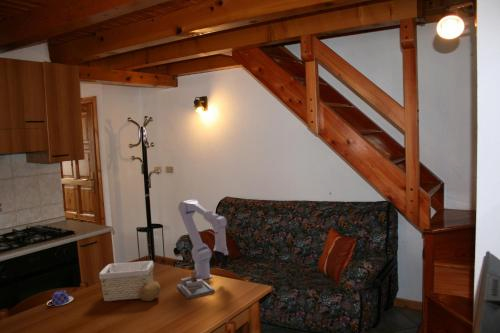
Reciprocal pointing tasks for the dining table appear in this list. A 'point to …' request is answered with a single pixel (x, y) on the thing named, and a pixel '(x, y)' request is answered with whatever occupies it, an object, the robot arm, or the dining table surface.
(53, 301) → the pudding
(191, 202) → the robot arm
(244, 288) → the dining table surface
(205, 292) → the base
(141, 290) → the potato
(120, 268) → the storage basket
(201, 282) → the press handle
